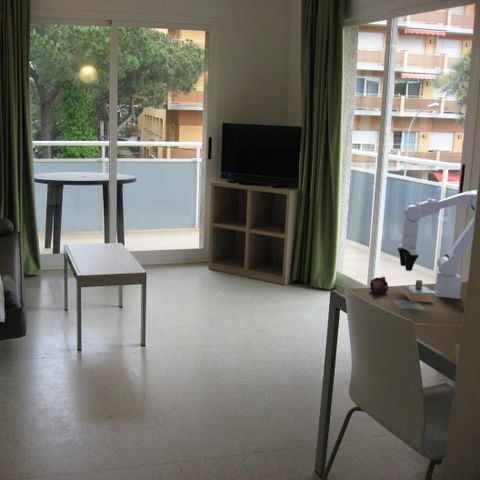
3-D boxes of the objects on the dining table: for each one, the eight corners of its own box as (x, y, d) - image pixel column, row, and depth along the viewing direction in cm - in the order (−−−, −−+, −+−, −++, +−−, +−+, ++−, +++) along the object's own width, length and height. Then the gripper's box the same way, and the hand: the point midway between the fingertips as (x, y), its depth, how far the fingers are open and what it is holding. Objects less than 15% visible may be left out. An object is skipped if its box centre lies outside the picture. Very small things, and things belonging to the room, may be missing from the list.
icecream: (388, 284, 262) (393, 278, 276) (370, 277, 265) (376, 271, 279) (381, 301, 264) (387, 294, 278) (363, 293, 266) (370, 287, 280)
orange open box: (424, 297, 271) (425, 288, 271) (430, 303, 264) (431, 294, 263) (404, 296, 271) (405, 287, 270) (410, 302, 263) (411, 293, 263)
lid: (424, 288, 272) (425, 277, 271) (433, 294, 263) (435, 284, 262) (402, 287, 270) (404, 277, 269) (411, 294, 262) (412, 283, 261)
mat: (417, 302, 263) (417, 301, 263) (425, 311, 254) (425, 309, 254) (392, 301, 263) (392, 299, 263) (398, 309, 253) (398, 308, 253)
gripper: (395, 230, 279) (391, 263, 282) (404, 238, 265) (400, 272, 268) (412, 231, 279) (408, 263, 282) (422, 239, 265) (418, 273, 268)
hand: (405, 268), depth 275 cm, fingers open, 7 cm apart
